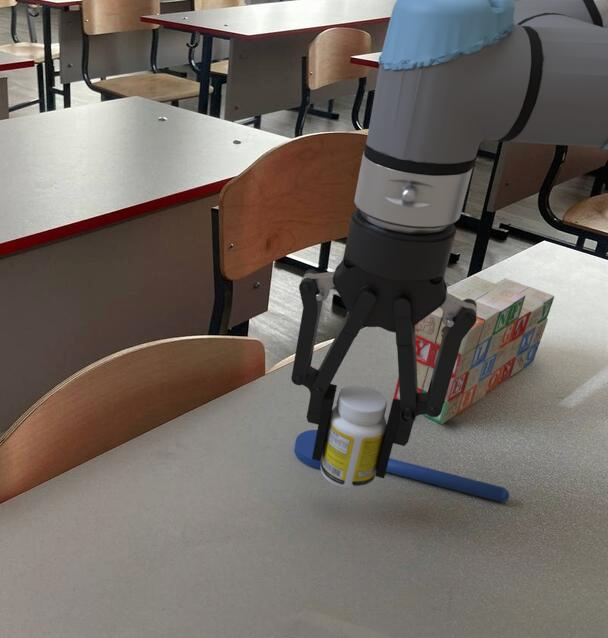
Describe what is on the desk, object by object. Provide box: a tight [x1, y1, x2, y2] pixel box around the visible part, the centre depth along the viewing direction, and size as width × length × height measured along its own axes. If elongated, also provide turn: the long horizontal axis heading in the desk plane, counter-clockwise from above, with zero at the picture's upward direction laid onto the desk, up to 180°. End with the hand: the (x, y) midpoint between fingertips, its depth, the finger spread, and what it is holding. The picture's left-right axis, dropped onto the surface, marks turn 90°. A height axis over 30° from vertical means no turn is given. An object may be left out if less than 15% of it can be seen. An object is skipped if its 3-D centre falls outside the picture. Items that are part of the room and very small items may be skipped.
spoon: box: [293, 429, 510, 503], centre depth 75 cm, size 20×5×1 cm, turn 68°
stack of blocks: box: [393, 275, 555, 425], centre depth 87 cm, size 21×6×12 cm, turn 129°
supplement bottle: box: [320, 384, 388, 491], centre depth 66 cm, size 5×5×8 cm
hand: (349, 459), depth 68 cm, fingers closed on supplement bottle, 5 cm apart
